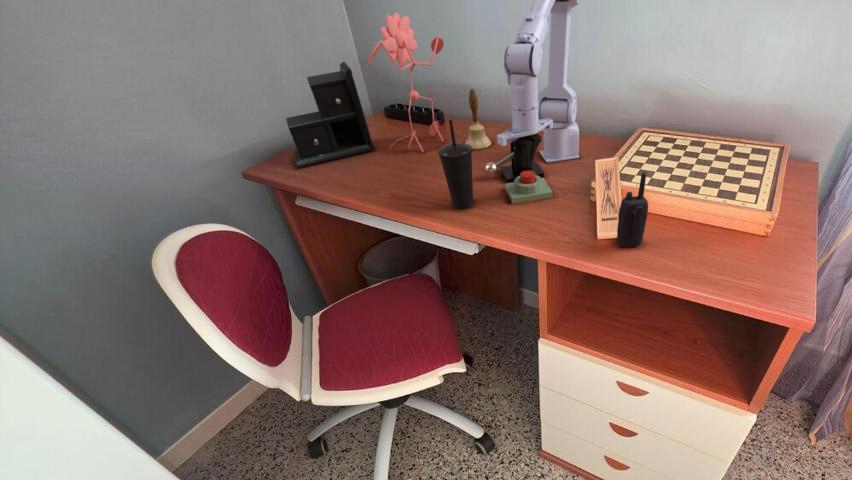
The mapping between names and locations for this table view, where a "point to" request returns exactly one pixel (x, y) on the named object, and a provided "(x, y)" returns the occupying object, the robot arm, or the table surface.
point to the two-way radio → (632, 217)
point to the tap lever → (496, 165)
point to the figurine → (405, 57)
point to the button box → (528, 190)
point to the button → (527, 177)
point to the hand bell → (476, 126)
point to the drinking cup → (458, 171)
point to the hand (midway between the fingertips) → (527, 166)
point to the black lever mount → (518, 167)
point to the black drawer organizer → (331, 121)
